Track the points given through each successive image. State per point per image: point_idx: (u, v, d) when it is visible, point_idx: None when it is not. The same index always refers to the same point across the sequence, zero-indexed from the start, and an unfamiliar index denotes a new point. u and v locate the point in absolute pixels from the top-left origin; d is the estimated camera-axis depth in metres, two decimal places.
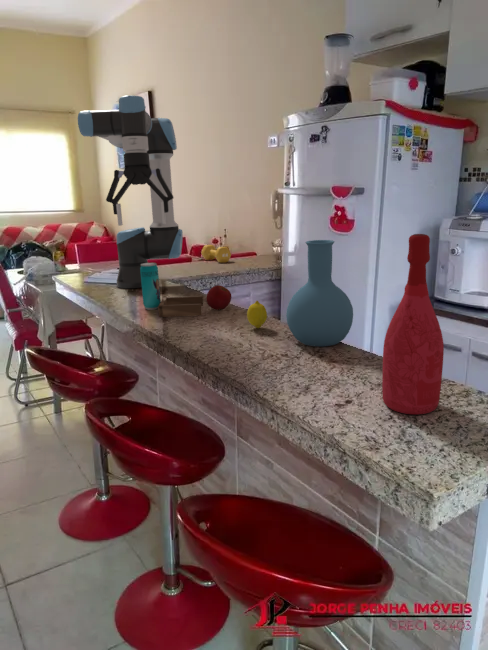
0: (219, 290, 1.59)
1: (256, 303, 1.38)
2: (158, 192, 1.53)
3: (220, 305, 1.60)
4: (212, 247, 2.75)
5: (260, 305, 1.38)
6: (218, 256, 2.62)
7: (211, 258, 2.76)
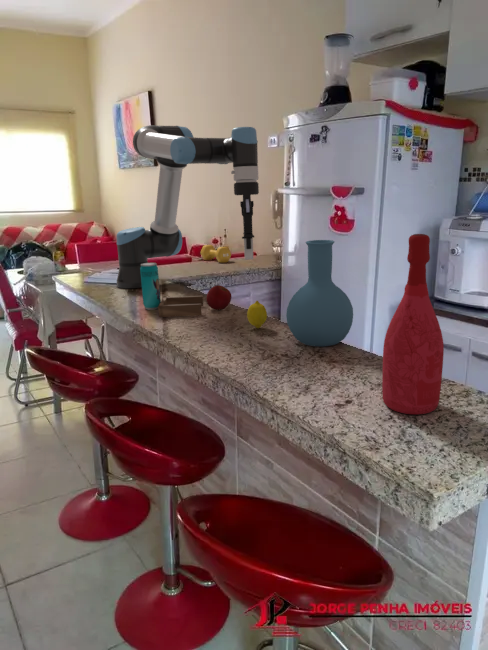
0: (219, 290, 1.59)
1: (256, 303, 1.38)
2: None
3: (220, 305, 1.60)
4: (211, 247, 2.74)
5: (260, 305, 1.38)
6: (219, 256, 2.62)
7: (210, 258, 2.76)
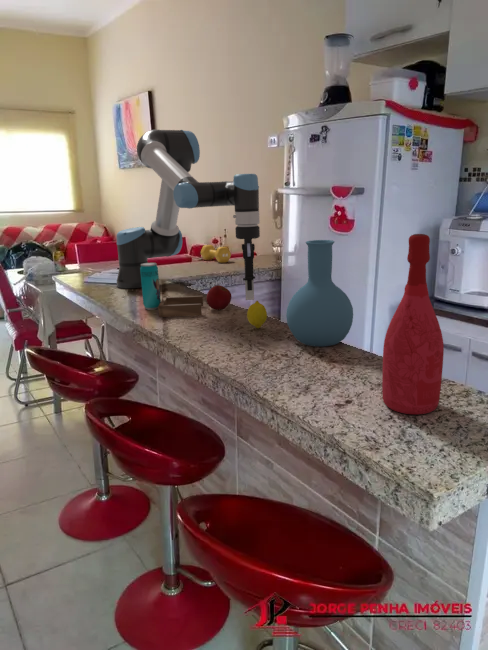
0: (219, 290, 1.59)
1: (256, 303, 1.38)
2: None
3: (220, 305, 1.60)
4: (211, 247, 2.74)
5: (260, 305, 1.38)
6: (218, 256, 2.62)
7: (210, 258, 2.76)
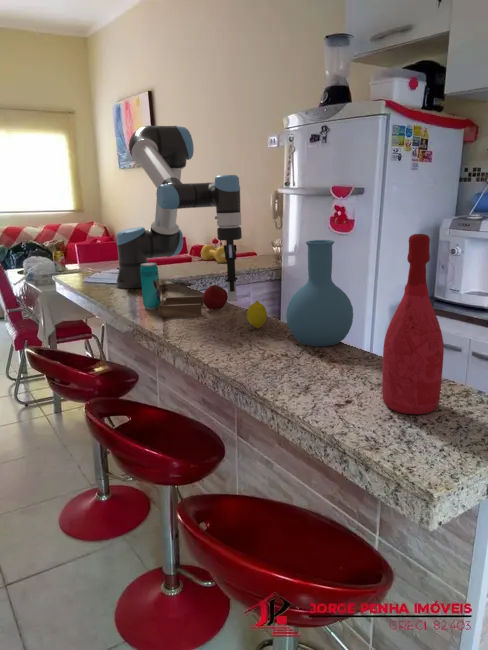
0: (215, 290, 1.59)
1: (256, 303, 1.38)
2: (227, 270, 1.59)
3: (216, 305, 1.60)
4: (211, 247, 2.74)
5: (260, 305, 1.38)
6: (217, 256, 2.62)
7: (210, 258, 2.76)
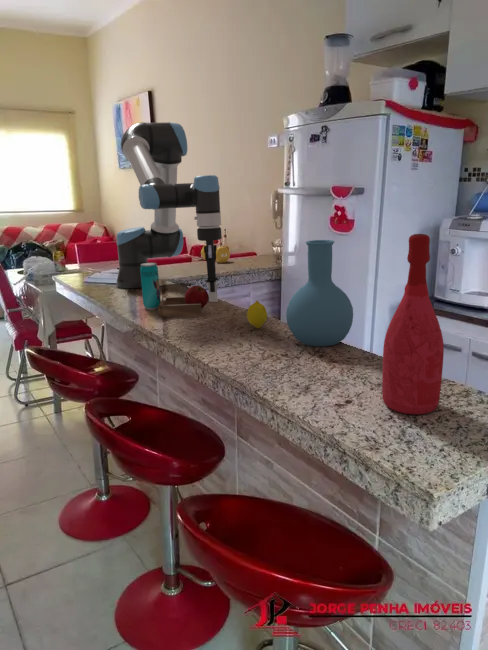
0: (194, 290, 1.60)
1: (256, 303, 1.38)
2: None
3: None
4: None
5: (260, 305, 1.38)
6: (217, 256, 2.62)
7: None
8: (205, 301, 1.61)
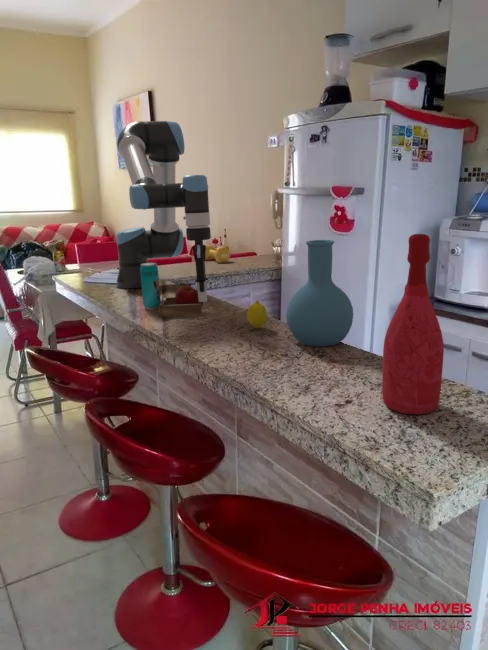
0: (182, 290, 1.60)
1: (256, 303, 1.38)
2: None
3: None
4: (211, 247, 2.74)
5: (260, 305, 1.38)
6: (217, 256, 2.62)
7: (210, 258, 2.76)
8: (193, 301, 1.61)
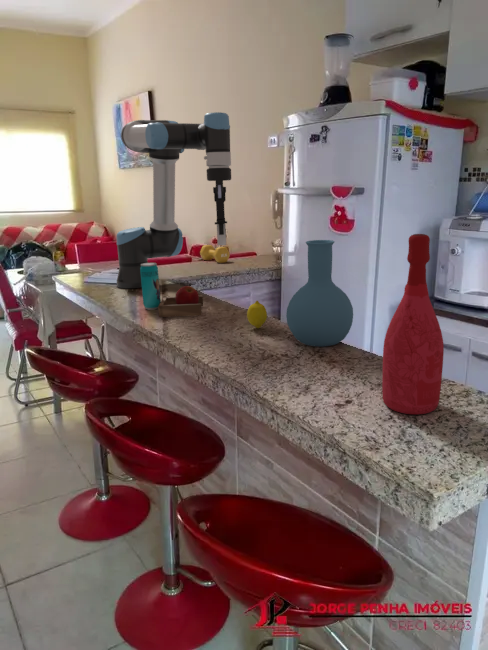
0: (182, 291, 1.60)
1: (256, 303, 1.38)
2: None
3: None
4: (211, 247, 2.74)
5: (260, 305, 1.38)
6: (217, 256, 2.62)
7: (210, 258, 2.76)
8: (193, 302, 1.61)
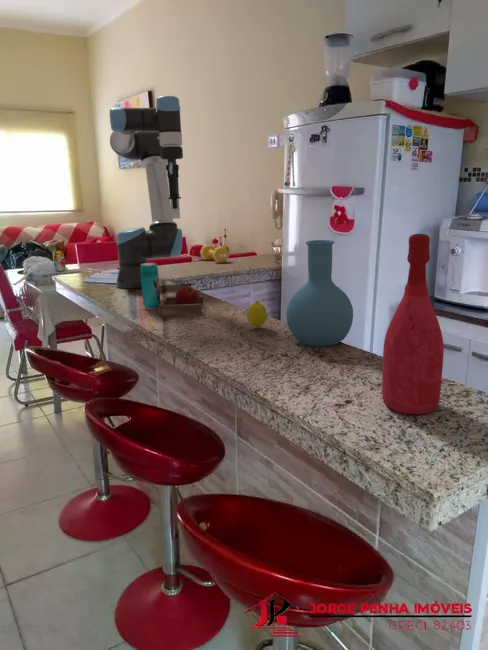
0: (182, 291, 1.60)
1: (256, 303, 1.38)
2: None
3: None
4: (211, 247, 2.74)
5: (260, 305, 1.38)
6: (216, 256, 2.61)
7: (210, 258, 2.76)
8: (193, 302, 1.61)
